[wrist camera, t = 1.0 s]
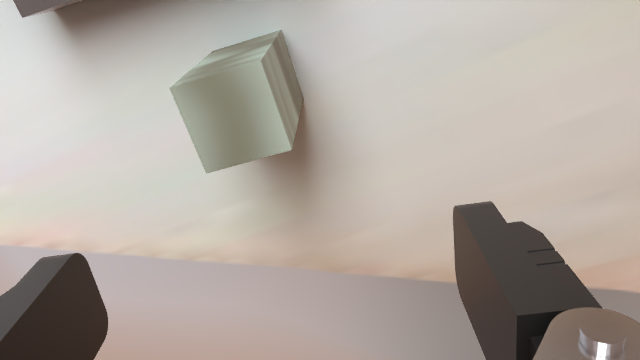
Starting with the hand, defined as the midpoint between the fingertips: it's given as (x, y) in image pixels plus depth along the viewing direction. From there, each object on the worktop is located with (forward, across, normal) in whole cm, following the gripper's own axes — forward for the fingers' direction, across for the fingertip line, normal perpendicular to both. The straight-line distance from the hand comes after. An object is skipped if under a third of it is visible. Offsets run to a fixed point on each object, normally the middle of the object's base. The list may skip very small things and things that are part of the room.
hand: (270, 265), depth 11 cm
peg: (+19, +2, 0) cm, 19 cm away
